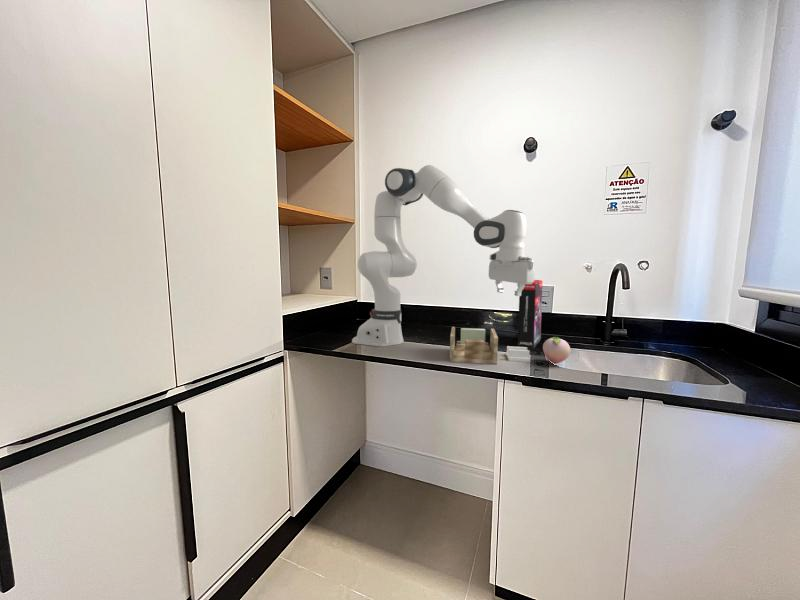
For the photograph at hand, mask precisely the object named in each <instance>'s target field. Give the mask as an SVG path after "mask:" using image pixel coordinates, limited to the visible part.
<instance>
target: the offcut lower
mask: <svg viewBox="0 0 800 600" xmlns="http://www.w3.org/2000/svg"><path fill="white" fill-rule="evenodd" d="M464 358H468V359H482V351H476V350H466V348H465V350H464Z"/></svg>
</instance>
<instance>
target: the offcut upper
mask: <svg viewBox="0 0 800 600" xmlns="http://www.w3.org/2000/svg"><path fill="white" fill-rule="evenodd" d="M465 348H466V350H476V351H484V341H483V340H469V339H466V340H465Z"/></svg>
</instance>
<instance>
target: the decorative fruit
mask: <svg viewBox="0 0 800 600" xmlns="http://www.w3.org/2000/svg"><path fill="white" fill-rule="evenodd" d="M542 350H543V353H544V356H545V357H546V358H547V360H549V361H550V362H551V363H553V364H554V365H556V364H559V363H562V362H564V361H566V360H567V359H568V358H569V356H570V355H571V346H570V345H569V343H568V341H566V340H564V339H562V338H560V337H558V335H555V336H553V337H550V338H548V339H546V340H545V341H544V343H543V344H542Z"/></svg>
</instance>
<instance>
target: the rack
mask: <svg viewBox="0 0 800 600" xmlns="http://www.w3.org/2000/svg"><path fill="white" fill-rule="evenodd" d="M449 337H450V339H449V340H450V341H449V343H450V344H449V362H454V363H455V362H456V363H469V364H470V363H473V364H488V365H498V354H499V353H498V348H499V337H498V335H497V332H496V330H495V328H490V342H485V345H484V351H482V359H468V358H464V350H465V344H460V342H461V340H456V327H455V326H451V330H450V335H449ZM455 344H456V345H455Z"/></svg>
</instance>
